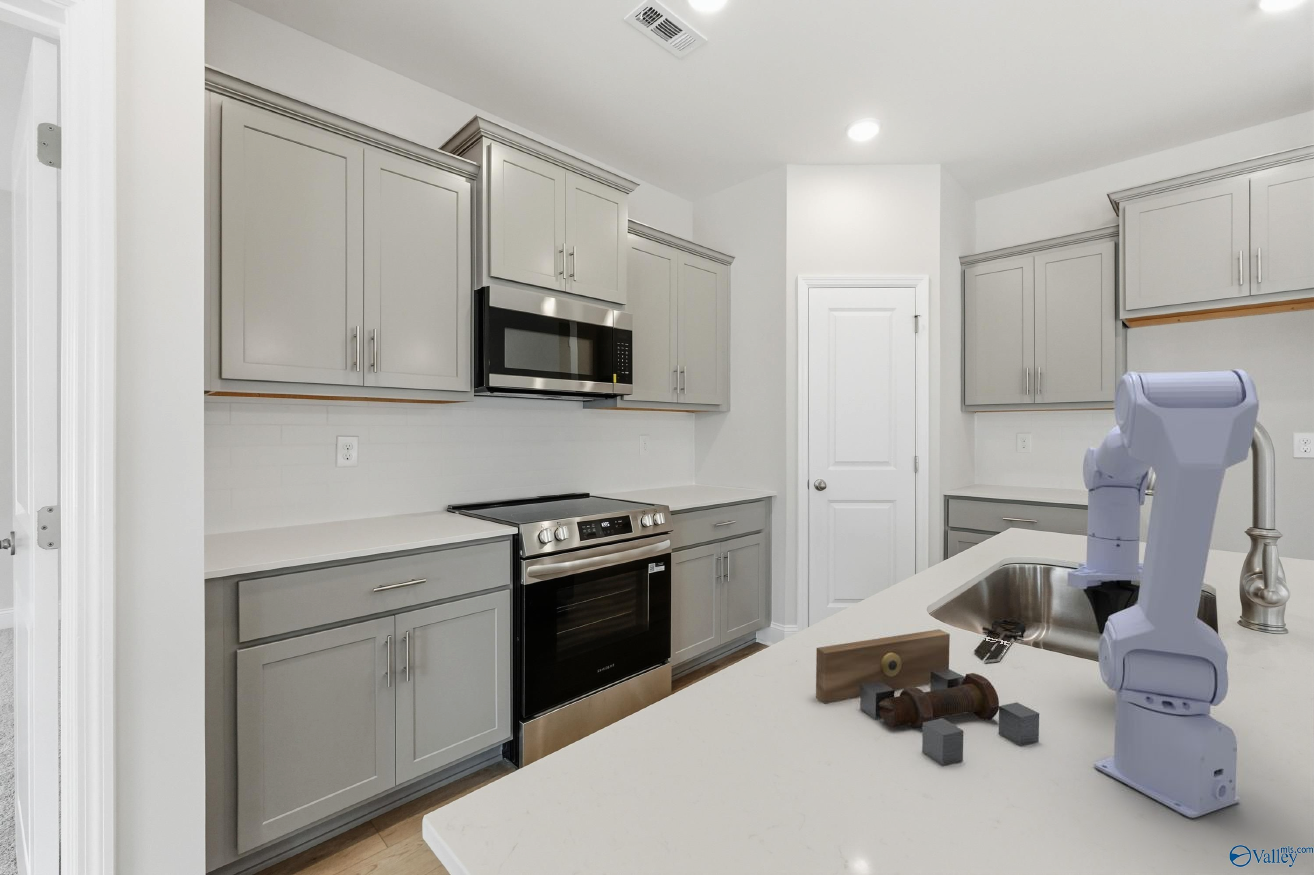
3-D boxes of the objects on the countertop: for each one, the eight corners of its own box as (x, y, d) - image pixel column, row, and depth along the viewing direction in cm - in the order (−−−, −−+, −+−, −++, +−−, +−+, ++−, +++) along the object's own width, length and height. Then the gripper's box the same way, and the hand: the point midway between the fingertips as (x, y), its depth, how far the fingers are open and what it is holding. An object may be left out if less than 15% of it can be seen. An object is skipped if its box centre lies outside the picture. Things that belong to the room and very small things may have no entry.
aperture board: (952, 681, 90) (953, 635, 89) (827, 705, 82) (828, 654, 82) (938, 674, 92) (939, 629, 92) (815, 697, 85) (816, 647, 84)
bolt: (881, 738, 77) (980, 720, 81) (902, 737, 73) (1006, 718, 77) (867, 690, 80) (964, 674, 84) (887, 685, 76) (988, 670, 79)
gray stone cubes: (1038, 741, 73) (1039, 713, 73) (942, 765, 68) (943, 735, 68) (946, 692, 86) (947, 668, 86) (860, 709, 81) (860, 683, 81)
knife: (994, 669, 95) (994, 661, 95) (951, 658, 100) (951, 649, 100) (1037, 630, 113) (1037, 623, 113) (999, 622, 118) (999, 615, 118)
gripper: (1117, 528, 89) (1115, 620, 89) (1046, 534, 84) (1044, 631, 84) (1172, 537, 82) (1169, 636, 83) (1099, 544, 77) (1096, 649, 78)
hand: (1110, 635), depth 83 cm, fingers closed
